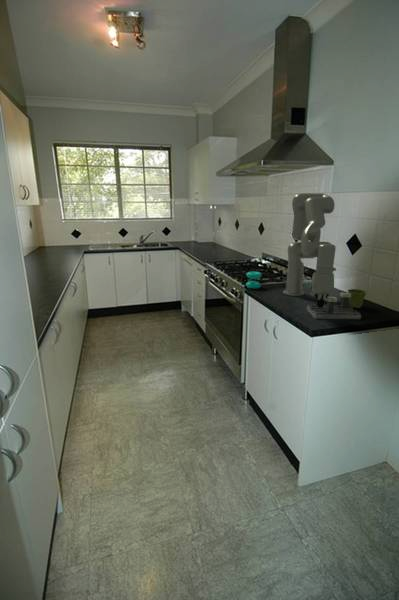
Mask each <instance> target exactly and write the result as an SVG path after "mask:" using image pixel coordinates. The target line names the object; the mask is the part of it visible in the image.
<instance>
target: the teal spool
mask: <svg viewBox="0 0 399 600" xmlns="http://www.w3.org/2000/svg"><path fill="white" fill-rule="evenodd" d="M245 275H246V277H247V278H248V279H253V280H252V281H247V282H246V283H245V286H247V288H248V289H251V288H252V289H251V290H253V289H256V290H257V289H260V288H261V287H262V285H261V282H259V281H256V279H257V280H258V279H261V277H262V276H263V275H262V272H260V271H248V272H247V273H246V274H245Z"/></svg>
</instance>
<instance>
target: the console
mask: <svg viewBox="0 0 399 600" xmlns="http://www.w3.org/2000/svg"><path fill="white" fill-rule="evenodd" d="M306 310H307V312H308V313H309V314H310V315H311V316H312V318H314V319H316V320H318V319H319V320H323V319H324V320H327V319H328V320H361V319H362V314H361V313H360V312H359V311H358V310H356V309H354V307H351V306H349V304H348V306H347V308H341V304H334V309H333V313H327V312H326V310H327V304H324V306H323V308H319V307H318V306H317V304H307V306H306Z"/></svg>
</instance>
